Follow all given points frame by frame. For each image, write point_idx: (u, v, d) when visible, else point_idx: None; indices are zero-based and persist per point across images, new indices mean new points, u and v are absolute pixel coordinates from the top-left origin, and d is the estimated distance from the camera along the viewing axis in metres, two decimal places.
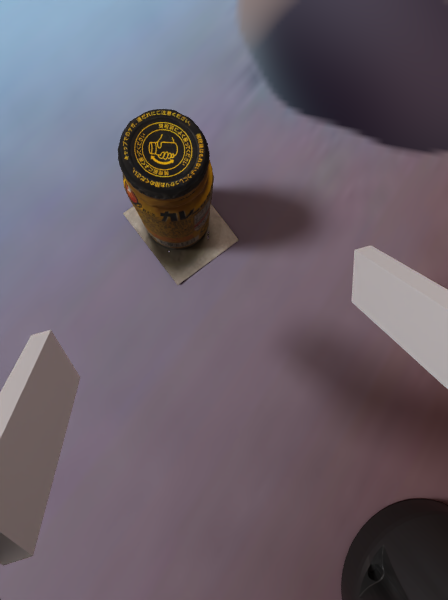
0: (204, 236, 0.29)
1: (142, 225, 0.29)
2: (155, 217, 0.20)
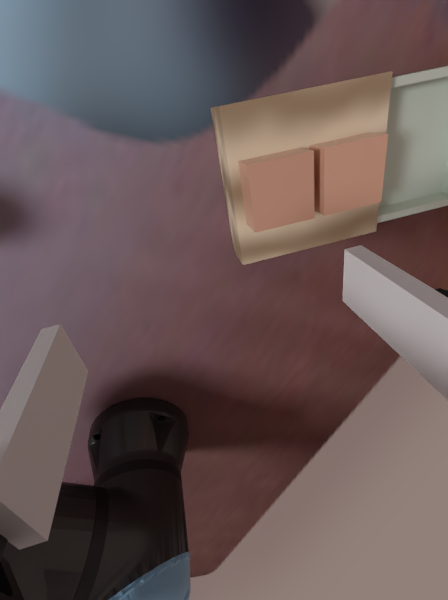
0: None
1: None
2: None
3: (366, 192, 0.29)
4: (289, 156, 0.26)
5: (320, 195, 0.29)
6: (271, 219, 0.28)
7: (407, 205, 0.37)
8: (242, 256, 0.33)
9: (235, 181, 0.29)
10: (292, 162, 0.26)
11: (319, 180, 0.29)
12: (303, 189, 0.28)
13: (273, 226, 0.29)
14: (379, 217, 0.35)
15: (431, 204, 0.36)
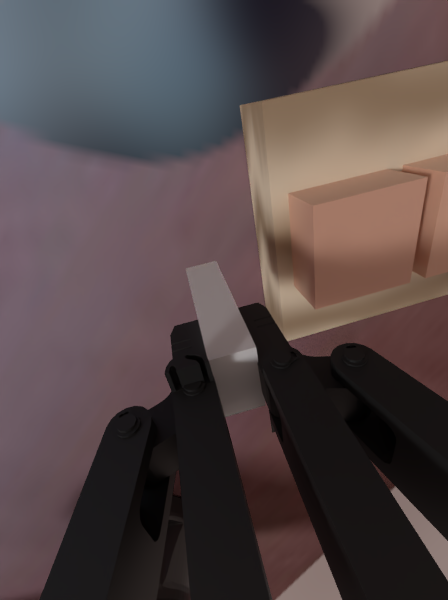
0: None
1: None
2: None
3: None
4: (386, 188, 0.15)
5: (420, 245, 0.18)
6: (343, 289, 0.17)
7: None
8: (284, 330, 0.22)
9: (281, 225, 0.18)
10: (390, 197, 0.15)
11: (421, 222, 0.17)
12: (400, 240, 0.16)
13: (345, 298, 0.18)
14: None
15: None
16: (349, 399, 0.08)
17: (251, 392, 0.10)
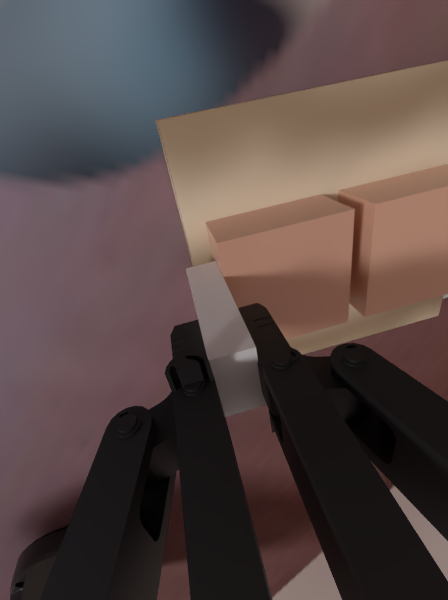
0: None
1: None
2: None
3: (444, 275, 0.16)
4: (305, 222, 0.13)
5: (358, 281, 0.16)
6: None
7: None
8: None
9: (201, 256, 0.16)
10: (311, 232, 0.13)
11: (357, 256, 0.15)
12: (330, 277, 0.14)
13: None
14: None
15: None
16: (349, 399, 0.08)
17: (251, 392, 0.10)
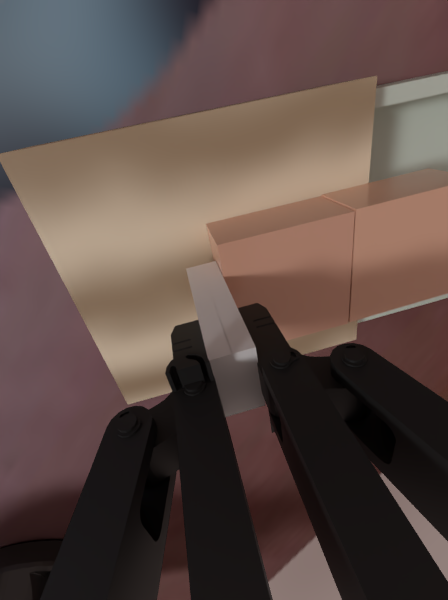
0: None
1: None
2: None
3: (428, 279, 0.16)
4: (305, 224, 0.13)
5: None
6: None
7: None
8: (124, 393, 0.19)
9: (77, 287, 0.15)
10: (311, 234, 0.13)
11: None
12: (330, 279, 0.14)
13: None
14: None
15: None
16: (348, 399, 0.08)
17: (251, 393, 0.10)
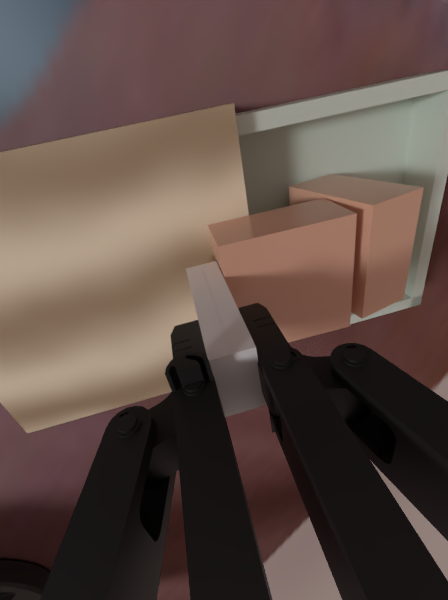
0: None
1: None
2: None
3: None
4: (306, 226, 0.13)
5: (397, 274, 0.16)
6: None
7: None
8: (20, 422, 0.19)
9: None
10: (313, 236, 0.13)
11: (398, 252, 0.15)
12: (332, 282, 0.14)
13: None
14: None
15: None
16: (349, 399, 0.08)
17: (251, 392, 0.10)
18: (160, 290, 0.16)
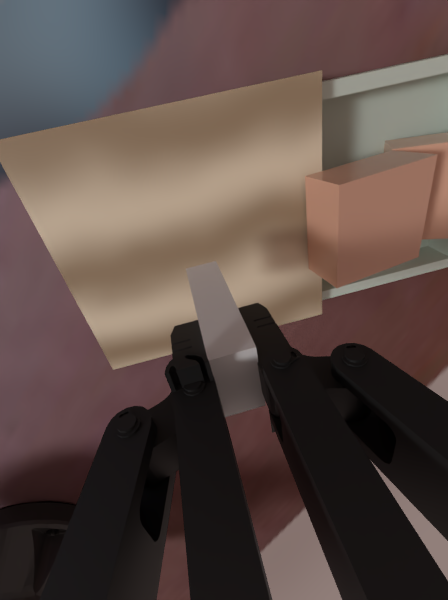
0: None
1: None
2: None
3: None
4: (402, 166, 0.16)
5: None
6: (362, 266, 0.18)
7: None
8: (109, 359, 0.22)
9: (63, 260, 0.17)
10: (405, 175, 0.16)
11: None
12: (412, 216, 0.17)
13: (363, 275, 0.18)
14: (328, 291, 0.23)
15: (409, 270, 0.24)
16: (349, 399, 0.08)
17: (251, 392, 0.10)
18: (240, 238, 0.19)
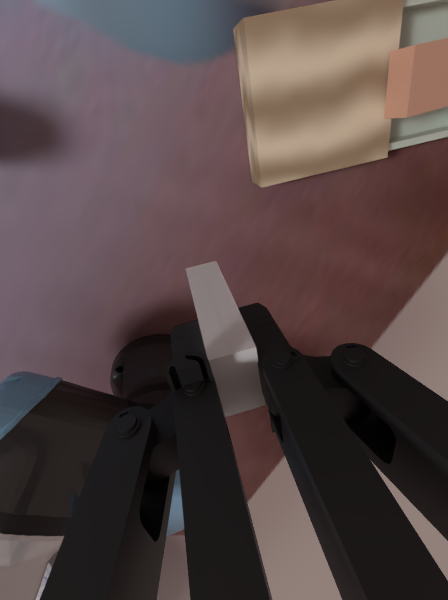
0: None
1: None
2: None
3: None
4: (445, 39, 0.30)
5: None
6: (420, 104, 0.32)
7: (417, 135, 0.38)
8: (261, 178, 0.35)
9: (256, 97, 0.31)
10: (447, 45, 0.30)
11: None
12: None
13: (420, 111, 0.32)
14: (390, 144, 0.37)
15: (440, 133, 0.38)
16: (349, 399, 0.08)
17: (251, 392, 0.10)
18: (349, 92, 0.32)
